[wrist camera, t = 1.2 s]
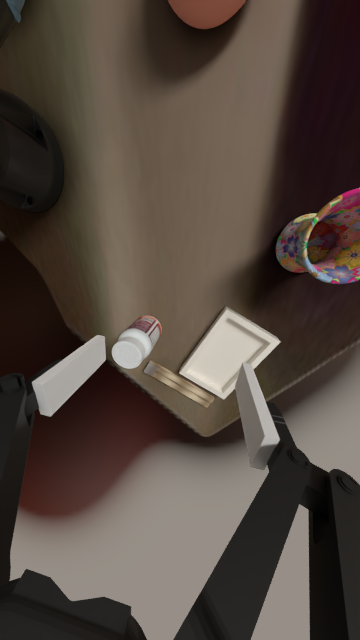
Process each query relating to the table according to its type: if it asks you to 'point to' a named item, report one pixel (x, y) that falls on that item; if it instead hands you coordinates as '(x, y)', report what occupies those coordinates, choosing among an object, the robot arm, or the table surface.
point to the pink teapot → (205, 11)
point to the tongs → (178, 383)
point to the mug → (325, 241)
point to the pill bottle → (136, 342)
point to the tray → (227, 352)
